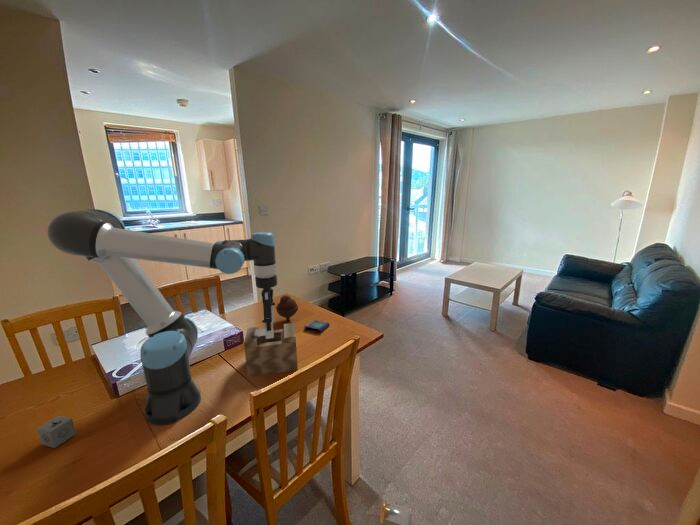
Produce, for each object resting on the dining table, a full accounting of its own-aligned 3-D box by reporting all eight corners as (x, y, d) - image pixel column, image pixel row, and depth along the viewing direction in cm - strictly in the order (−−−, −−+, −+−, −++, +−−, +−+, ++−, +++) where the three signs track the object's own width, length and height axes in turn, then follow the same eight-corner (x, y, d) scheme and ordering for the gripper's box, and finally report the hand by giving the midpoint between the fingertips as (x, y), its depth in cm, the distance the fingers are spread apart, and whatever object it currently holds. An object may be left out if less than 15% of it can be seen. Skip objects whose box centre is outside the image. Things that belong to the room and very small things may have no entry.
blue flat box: (303, 325, 140) (315, 318, 149) (303, 331, 140) (315, 323, 150) (320, 329, 136) (331, 321, 145) (320, 335, 136) (331, 327, 146)
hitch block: (247, 377, 107) (243, 342, 104) (250, 359, 118) (247, 327, 115) (297, 369, 111) (295, 336, 107) (296, 353, 122) (294, 322, 119)
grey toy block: (54, 448, 78) (49, 432, 77) (41, 444, 79) (36, 428, 78) (76, 433, 83) (71, 418, 81) (63, 430, 84) (59, 415, 83)
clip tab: (252, 337, 108) (252, 335, 107) (253, 331, 112) (253, 329, 112) (269, 335, 109) (268, 333, 109) (269, 329, 114) (269, 327, 113)
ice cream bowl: (273, 327, 146) (270, 299, 142) (284, 318, 156) (282, 291, 153) (292, 330, 143) (290, 301, 139) (302, 320, 153) (301, 293, 150)
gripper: (276, 284, 95) (280, 344, 100) (277, 266, 119) (280, 315, 124) (251, 286, 93) (257, 347, 98) (257, 267, 117) (262, 317, 122)
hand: (270, 329), depth 111 cm, fingers open, 13 cm apart
